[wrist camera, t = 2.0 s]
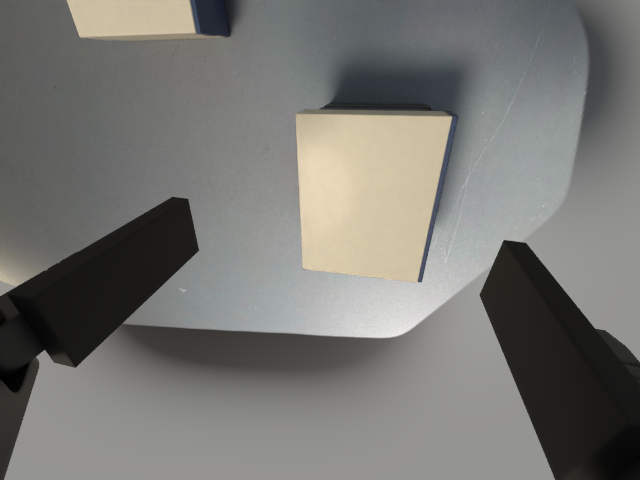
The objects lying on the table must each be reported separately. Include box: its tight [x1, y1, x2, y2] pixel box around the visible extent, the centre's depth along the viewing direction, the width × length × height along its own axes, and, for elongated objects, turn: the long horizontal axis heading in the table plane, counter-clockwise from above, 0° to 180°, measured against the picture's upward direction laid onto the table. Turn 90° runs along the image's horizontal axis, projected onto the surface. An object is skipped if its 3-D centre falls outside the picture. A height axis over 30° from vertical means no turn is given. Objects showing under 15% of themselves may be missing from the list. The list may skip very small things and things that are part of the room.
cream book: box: [296, 109, 458, 282], centre depth 23 cm, size 10×13×2 cm
